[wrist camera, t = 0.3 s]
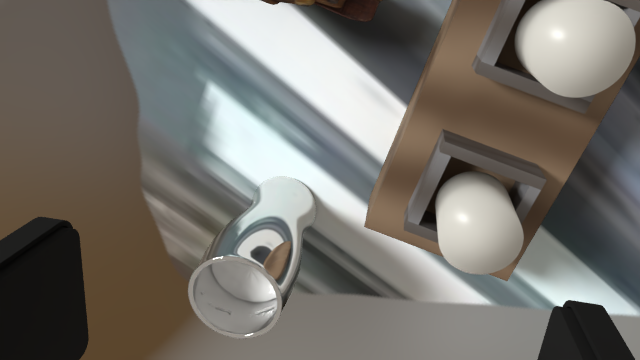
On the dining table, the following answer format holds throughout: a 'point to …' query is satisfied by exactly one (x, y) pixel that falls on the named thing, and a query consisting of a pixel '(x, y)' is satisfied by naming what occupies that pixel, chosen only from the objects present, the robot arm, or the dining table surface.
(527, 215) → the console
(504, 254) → the knob
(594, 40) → the knob
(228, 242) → the beer glass
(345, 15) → the wooden carving
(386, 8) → the dining table surface
